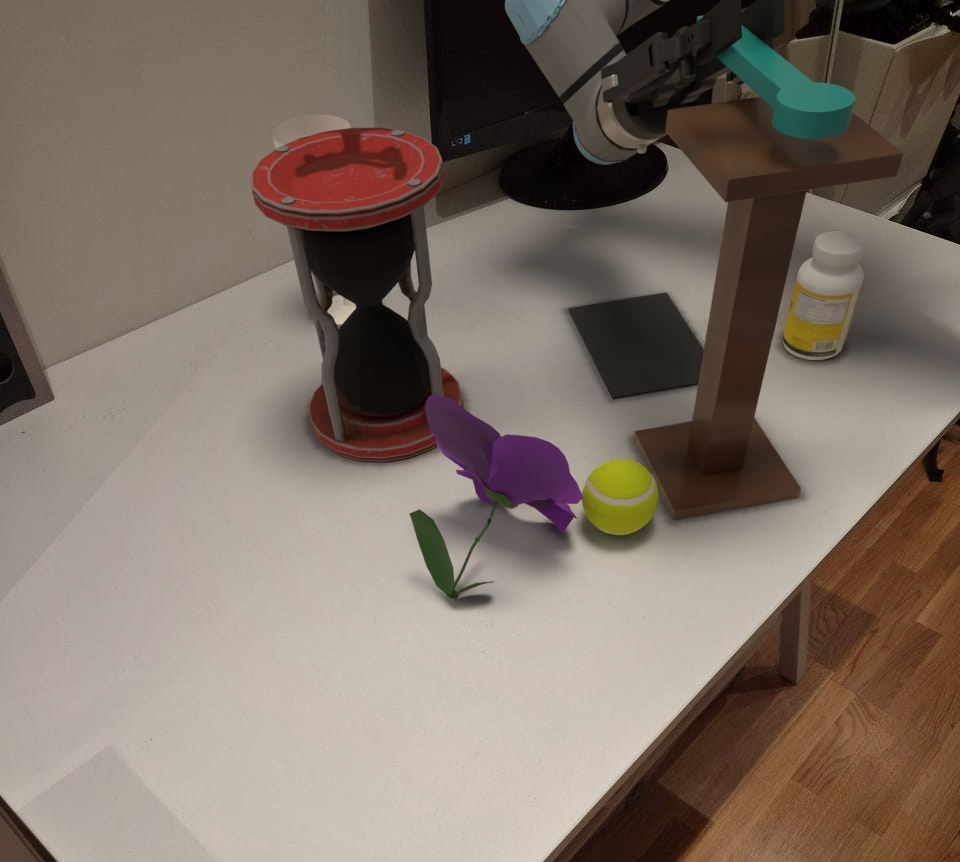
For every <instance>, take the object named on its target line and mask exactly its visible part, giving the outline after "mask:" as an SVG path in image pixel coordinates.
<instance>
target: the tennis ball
mask: <svg viewBox="0 0 960 862" xmlns="http://www.w3.org/2000/svg"><path fill="white" fill-rule="evenodd" d="M581 494H582V496H583V499H582V500H581V503H582V509H583V512H584V514H585V516H586V518H587V519H588V521H589V522H590V523H591V524H592V525H593V526H594V527H595V528H596V529H598V530H600V531H601V532H603V533H605V534H609V535H612V536H626V535H630V534H633V533H635V532H637V531H639V530H640V529H642V528H643V527H646V525H647V524H648V523H649V522H650V521H651V520H652V519H653V516H654V515H655V513H656V512H657V508H658V504H659V490H658V487H657V484H656V481H655V479H654V477H653V476H652V474H651V473H650V472H649V470H648V468H647V466H646V465H644V464H642V463H639V462H638V461H636V460H633V459H630V458H614V459H610V460H607V461H605V462H603V463H601V464H598V466H597V467H595V468H594V469H593V470H592V471H591V472H590V473H589V475H588V476H587V478H586V480H585V483H584V486H583V488H582V491H581Z"/></svg>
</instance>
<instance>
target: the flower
mask: <svg viewBox="0 0 960 862" xmlns="http://www.w3.org/2000/svg"><path fill="white" fill-rule="evenodd" d="M425 410H426V415H427V420H428V423H429V427H430V430H431V432H432V434H433V435H434V437H435V438H436V447H437V448H438V449H439V450H440V452H441V453H442V455H443V456H444V457H446V458H447V459H449V460H450V461H451V462H452V463H454V464H456V465H457V466H458V467H460V468H461V469H456V470H455V471H456V474H457V475H459V476H461V477H463V478H464V477H465V478H467V479H470V480H472V483H473V487H474V491H475V494H476V496H477V497H478V499H479V500H480V502H481V503H488V504H492V503H494V504H493V507H492V509H491V512H490V515H489V517H488V518H487V520H486V521H487V522H486V525H485V526H484V527H483V529H482V530H481V532H480V533H479V534H478V535H477V537H475V538H474V542H473V543H472V545H471V546H470V549H469V551H468V552H467V556H466V558H465V560H464V562H463V565H462V567H461V569H460V570H459V571H460V572H459V573H458V575H457V577H456V579H455V573H454V566H453V563H452V559H451V557H450V554H449V551H448V550H449V549H448V547H447V544H446V542H445V539H444V536H443V535H442V533H441V531H440V530H439V529H440V528H438V525H437V523H436V522H435V520H434V519H433V518H431V517H430V516H429V515H428V514H427V513H425V512H424V511H423V510H421V509H417V510H414V511H412V512H409V517H410V519H411V522H412V526H413V530H414V533H415V536H416V541H417V543H418V545H419V548H420V552H421V554H422V557H423V561H424V564H425V566H426V568H427V570H428V572H429V574H430V576H431V578H432V580H433V582H434V584H435V586H436V587H437V588H438V589H439V590H441V591H442V592H443V593H444V594H445V595H446V596H447V597H448V598H451V599H455V598H457V597H458V596H459V594H461V593H464V592H467V591H470V590H471V589H474V588H476V587H479V586H482V585H486V584H493V583H494V582H495V580H492V581H480V582H479V581H478V582H475V583H471V584H469V585H467V586H465V587H462V588H460V589H459V590H456V587H457V585H458V583H459V582H460V580H461V578H462V575H463V574H464V571H465V569H466V567H467V564H468V562H469V560H470V558H471V555H472V553H473V551H474V548H475V547H476V545H477V544H478V543H479V542H480V540H481V539H482V537H483V536H484V534H485V532H486V531H487V530H488V528H489V526H490V525H491V524H492V522H493V521H492V520H493V517H494V514H495V511H496V509H497V506H500V507H501V506H502V507H504V508H507V509H511V510H513V509H516V508H517V507H519V506H520V505H523V504H525V505H527V506H529V507H531V508H534V509H535V510H536V511H537V512H538V513H540V514H542V516H544V517H545V518H547V519H548V520H549V521H551V522H552V523H553V525H554V526H555V527H556V528H557V530H558V531H560V532H561V533H562V534H563V533H565V532H566V530H567V529H568V527H569V525H570V524H571V522H572V521H573V519H576V520H578V517H577V516H576V514H575V513H574V512H573V511H572V509H571V506H570V505H577V504H579V503H580V502H582V499H583V496H582V491H581V489H580V486H579V485H578V482H577V481H576V479H575V478H574V476H573V475H572V474H571V469H570V464H569V461H568V460H567V457H566V455H565V454H564V453H563V451H562V450H561V449H560V448H559V447H558V446H556V445H555V444H553V443H552V442H551V441H547V440H545V439H543V438H539V437H536V436H530V435H529V436H528V435H522V434H521V435H520V434H504V435H501V433H500V432H499V431H498V430H496V428H494V427H493V426H492V425H491V424H489V423H487V422H486V421H484V420H482V419H480V418H478V417H477V416H475V415H473V414H472V413H471V412H470V411H468V410H467V409H465V408H464V407H463V408H462V407H461V406H460V405H458V404H457V403H456V402H454V401H453V400H452V399H450V398H447V397H444V396H441V395H438V394H434V395H430V396H429V397H428V399H427V401H426V409H425Z"/></svg>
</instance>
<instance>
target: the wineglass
mask: <svg viewBox="0 0 960 862" xmlns="http://www.w3.org/2000/svg"><path fill="white" fill-rule="evenodd" d="M347 128H352V126H351V123H350V122H349V121H348V120H346V119H344V118H342V117H340V116H336V115H331V114H307V115H300V116H296V117H293V118H288V119H286V120H284V121H282V122H280V123H279V124H277V125H276V126H275V127H274V129H272V140H273V143H274V148H275V149H276V148H278V147H280V146H283V145H285V144H287V143H290V142H292V141H294V140H296V139H299V138H303V137H306V136H310V135H314V134H317V133H321V132H325V131H333V130H340V129H347ZM355 309H356V304H354V303H352V302H351V301H349V300H347V299H346V298H344V297H342V296H341V295H339V294H337V295H334V296H333V297H332V305H331V307H330V308H329V309H328V311H327V312H328V313H329V314H331V315H332V316H333V318H334V320H335V323H336V325H342V324H343V323H344V322H345V320H346V319H347V318H348V317H349V316H350V314H351V313H352V312H353V311H354V310H355Z"/></svg>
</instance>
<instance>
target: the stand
mask: <svg viewBox="0 0 960 862" xmlns="http://www.w3.org/2000/svg"><path fill="white" fill-rule="evenodd" d="M773 111H774V109H773V108H772V107H771V106H770V105H769V104H768V103H767V102H765V101H764V100H763V99H762V98H761V97H760V96H756V97H749V98H748V97H747V98H742V99H741V98H740V99H734V100H727V101H721V102H715V103H707V104H701V105H700V104H699V105H696V106H692V107H685V108H678V109H671V110H668V112H667V121H666V133H667V135H668V137H669V138H670V140H672V141H673V142H674V143H675V145H676V146H677V147H678V149H680V150H681V152H682V153H683V155H684V156H685V157H686V158H687V159H688V160H689V162H690V163H691V164H692V165H693V166H694V167H695V168H696V169H697V171H698V172H699V173H700V174H701V175H702V177H703V178H704V179H705V180H706V181H707V183H708V184H709V185H710V186H711V187H712V189H713V190H714V191H715V192H716V194H717V195H719V197H720V198H721V199H722V200H723V201H724V203H727V205H726V206H727V207H726V212H725V219H724V224H723V230H722V236H721V244H720V249H719V254H718V259H717V260H718V261H717V266H716V272H715V279H714V284H713V291H712V297H711V304H710V309H709V316H708V321H707V327H706V334H705V340H704V345H703V349H704V351H703V358H702V364H701V370H700V376H699V382H698V385H697V387H696V394H695V400H694V406H693V413H692V419H691V420H690V421H686V422H679V423H673V424H667V425H663V426H656V427H650V428H645V429H639V430H634V434H633V442H634V444H635V446H636V448H637V450H638V452H639V454H640V456H641V458H642V460H643V462H644V464H645V467H646V468H647V469H648V471H649V472H650V473H651V474H652V476H653V477H654V479H655V481H656V484H657V487H658V493H659V494H660V496H661V498H662V500H663V502H664V504H665V507H666V508H667V510H668V512H669V514H670V516H671V518H672V520H673V521H678V520H679V521H680V520H685V519H690V518H695V517H701V516H702V517H703V516H706V515H712V514H718V513H723V512H728V511H734V510H739V509H745V508H750V507H755V506H762V505H767V504H772V503H777V502H782V501H783V502H784V501H788V500H793V499H799V497H800V494H801V491H802V487H801V486H800V484H799V483H798V481H797V480H796V478H795V476H794V475H793V474H792V473H791V470H790V469H789V468H788V467H787V465H786V463H785V462H784V459H782V457H781V456H780V454H779V453H778V450H777V449H776V448H775V446H774V445H773V443H772V442H771V441H770V439H769V437H768V436H767V434H766V433H765V431H764V430H763V429H762V427H761V426H760V424H759V422H758V421H757V419H756V418H755V416H756V411H757V408H758V403H759V400H760V394H761V389H762V386H763V381H764V377H765V373H766V368H767V366H768V365H767V364H768V360H769V355H770V351H771V346H772V342H773V338H774V334H775V329H776V325H777V321H778V317H779V314H780V313H779V312H780V307H781V304H782V300H783V295H784V290H785V287H786V282H787V277H788V273H789V269H790V264H791V260H792V255H793V252H794V247H795V242H796V238H797V234H798V230H799V226H800V221H801V217H802V213H803V208H804V204H805V199H806V195H807V192H808V191H809V190H816V189H823V188H828V187H829V188H830V187H836V186H843V185H849V184H854V183H861V182H869V181H876V180H882V179H888V178H896V177H897V176H898V172H899V170H900V165H901V163H902V159H903V157H904V152H903V151H901V150H900V149H899V147H896V145H894V144H893V143H892V142H890V141H889V140H888V139H887V138H886V137H884V136H883V135H882V134H880V133H879V132H878V131H877V130H875V129H874V128H873V126H871V125H870V124H868V123H867V122H865V121H864V120H863V119H862V118H861V117H860V116H859V115H857V114H856V113H855V112H854V111H852V115H851V119H850V123H849V127H848V128H847V130H846V131H845V132H843V133H842V134H839V135H837V136H834V137H829V138H822V139H803V138H796V137H791V136H788V135H785V134H782V133H780V132H778V131H777V130H776V129H774V127H773V126H772V117H773Z"/></svg>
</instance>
